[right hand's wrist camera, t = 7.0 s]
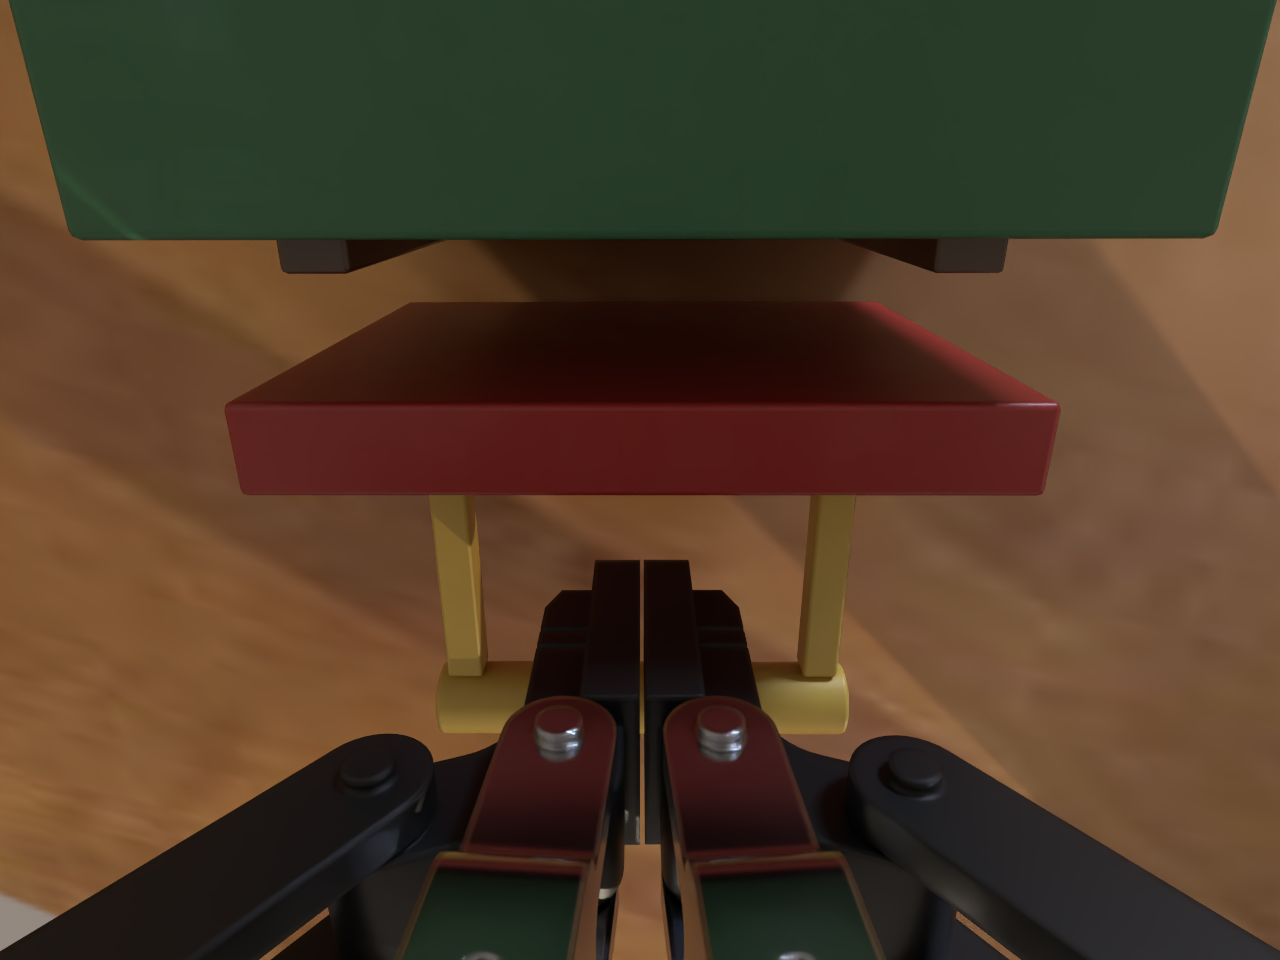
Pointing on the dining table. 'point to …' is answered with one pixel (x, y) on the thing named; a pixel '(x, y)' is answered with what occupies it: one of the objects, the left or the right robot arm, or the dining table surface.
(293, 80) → the cabinet
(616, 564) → the right robot arm
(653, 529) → the dining table surface
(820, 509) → the drawer
